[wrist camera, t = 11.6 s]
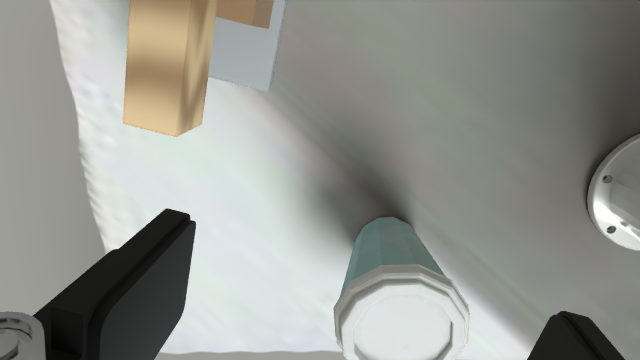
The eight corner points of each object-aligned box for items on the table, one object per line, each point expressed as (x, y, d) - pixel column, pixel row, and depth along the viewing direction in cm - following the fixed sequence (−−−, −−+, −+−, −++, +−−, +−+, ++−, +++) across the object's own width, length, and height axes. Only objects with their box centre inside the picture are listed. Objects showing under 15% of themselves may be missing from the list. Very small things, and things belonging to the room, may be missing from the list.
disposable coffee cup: (387, 178, 40) (402, 250, 26) (459, 242, 42) (511, 342, 28) (320, 244, 44) (302, 340, 30) (390, 301, 45) (404, 418, 31)
